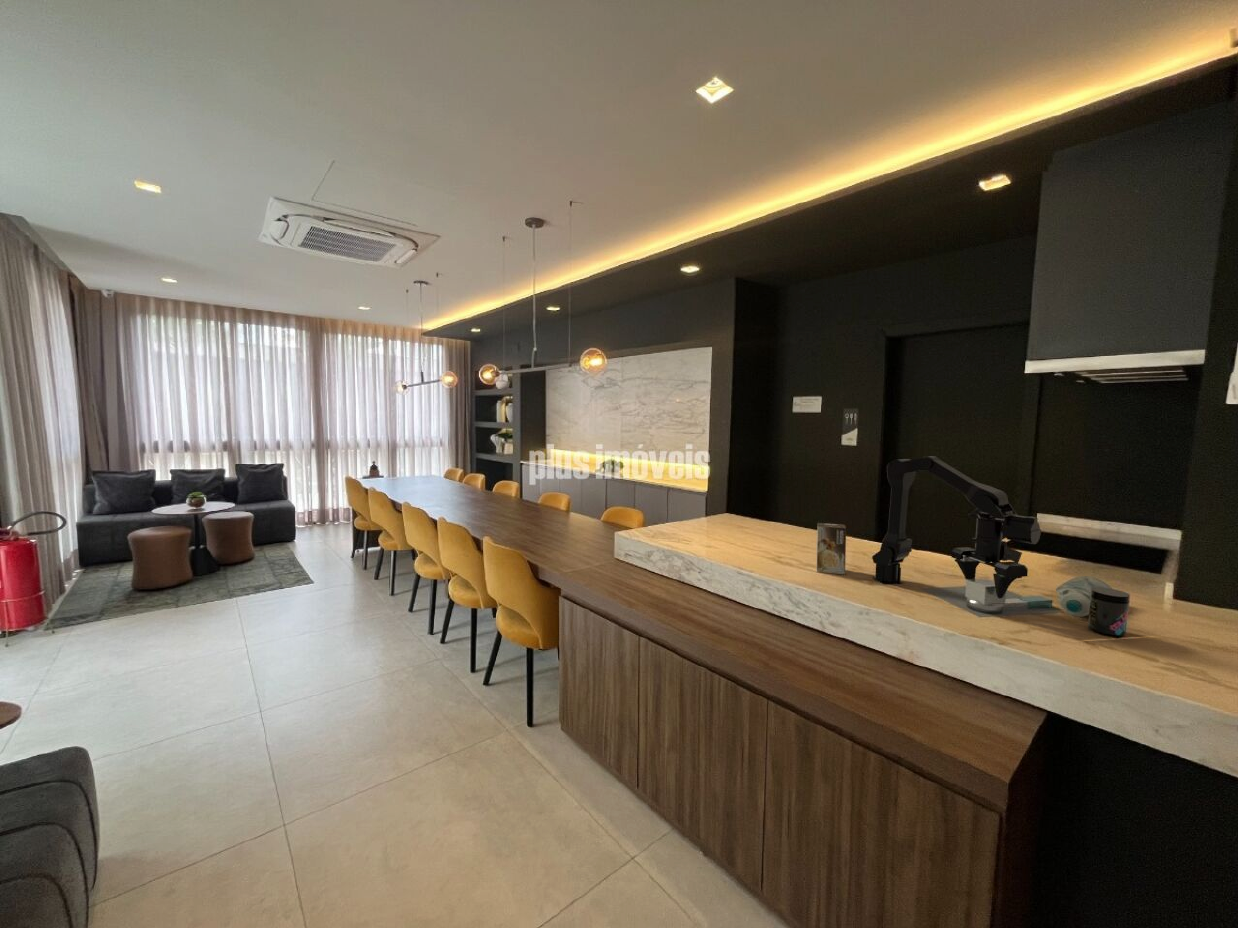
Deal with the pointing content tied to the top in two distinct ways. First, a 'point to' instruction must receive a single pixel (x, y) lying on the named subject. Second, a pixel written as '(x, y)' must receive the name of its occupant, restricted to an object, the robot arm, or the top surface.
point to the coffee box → (831, 548)
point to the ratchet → (1010, 604)
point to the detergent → (1078, 594)
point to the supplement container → (1108, 612)
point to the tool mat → (958, 599)
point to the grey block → (983, 591)
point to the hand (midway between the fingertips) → (985, 591)
